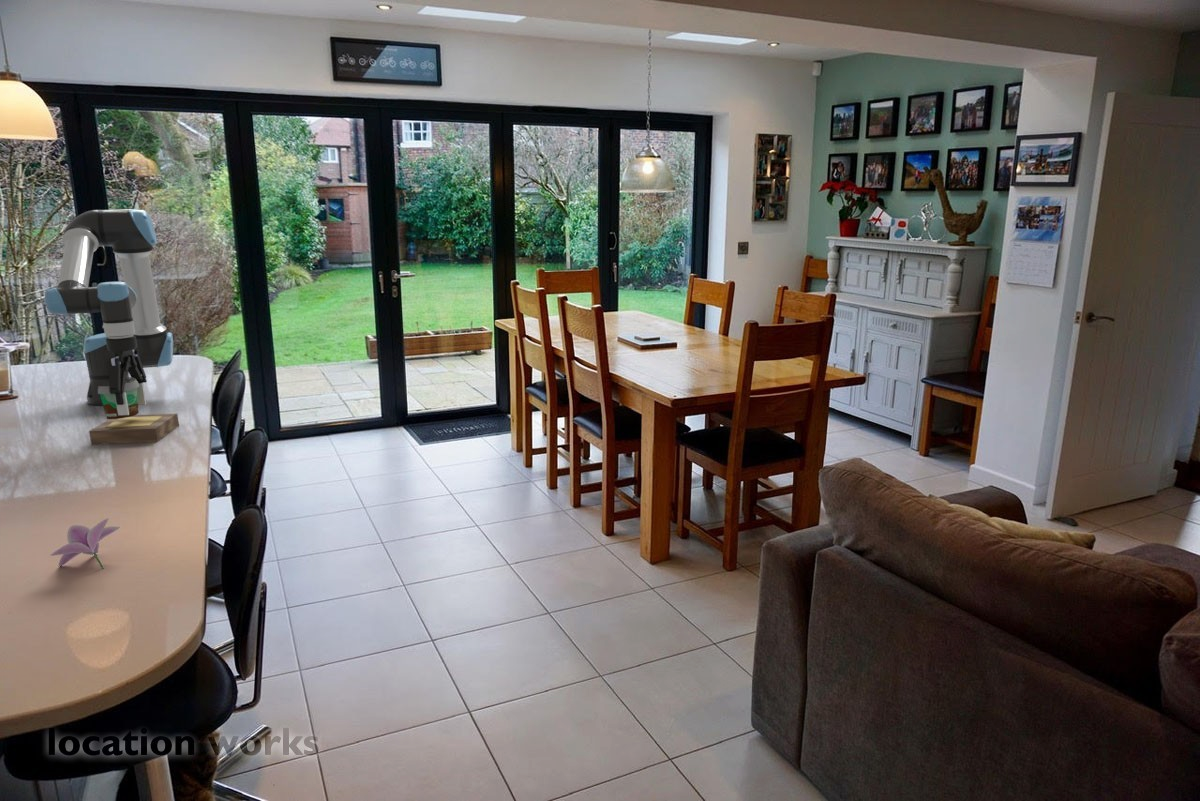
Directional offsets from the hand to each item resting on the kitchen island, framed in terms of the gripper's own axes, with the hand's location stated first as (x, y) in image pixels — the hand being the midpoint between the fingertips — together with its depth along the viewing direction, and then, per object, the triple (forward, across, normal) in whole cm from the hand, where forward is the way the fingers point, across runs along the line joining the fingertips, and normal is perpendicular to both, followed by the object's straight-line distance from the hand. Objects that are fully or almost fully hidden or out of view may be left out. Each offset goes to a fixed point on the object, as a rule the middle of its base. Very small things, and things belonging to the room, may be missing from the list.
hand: (132, 409), depth 232 cm
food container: (+2, +1, -1) cm, 2 cm away
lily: (+8, +88, +28) cm, 93 cm away
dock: (+8, 0, 0) cm, 8 cm away
